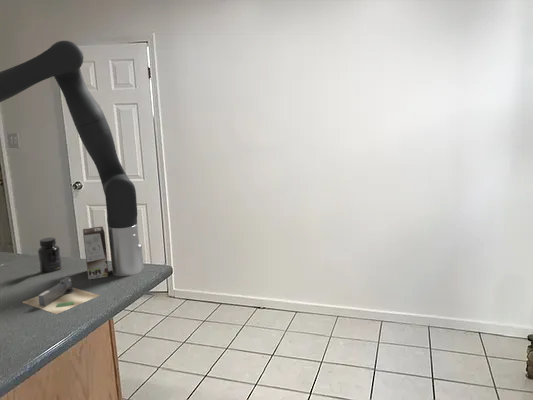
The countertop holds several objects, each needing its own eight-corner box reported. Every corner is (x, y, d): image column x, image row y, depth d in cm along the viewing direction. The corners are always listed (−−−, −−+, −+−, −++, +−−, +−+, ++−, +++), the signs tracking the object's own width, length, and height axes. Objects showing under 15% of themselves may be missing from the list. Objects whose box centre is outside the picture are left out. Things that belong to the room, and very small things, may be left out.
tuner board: (66, 290, 146) (65, 284, 145) (100, 300, 137) (99, 294, 137) (22, 307, 134) (21, 301, 134) (57, 319, 126) (56, 313, 125)
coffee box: (109, 280, 152) (104, 232, 149) (88, 283, 150) (83, 234, 147) (107, 271, 161) (103, 225, 157) (87, 274, 158) (82, 228, 155)
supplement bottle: (36, 275, 159) (31, 240, 157) (53, 268, 165) (49, 235, 163) (49, 278, 156) (45, 243, 154) (67, 271, 162) (62, 237, 160)
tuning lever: (65, 288, 142) (64, 277, 141) (74, 288, 141) (73, 277, 140) (37, 305, 130) (35, 293, 129) (47, 306, 129) (45, 294, 128)
